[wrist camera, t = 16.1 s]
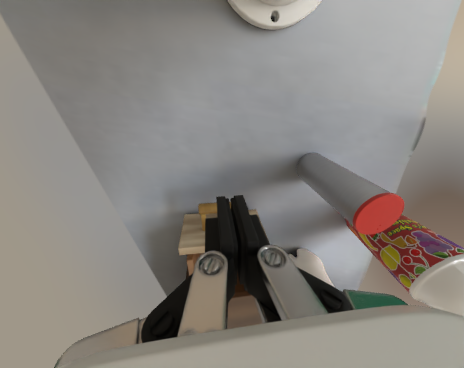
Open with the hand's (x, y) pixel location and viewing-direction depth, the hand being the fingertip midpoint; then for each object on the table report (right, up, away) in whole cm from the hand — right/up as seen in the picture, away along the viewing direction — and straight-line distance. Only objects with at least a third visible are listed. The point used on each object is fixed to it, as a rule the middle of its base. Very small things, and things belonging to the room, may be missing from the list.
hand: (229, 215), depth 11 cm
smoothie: (+24, -3, +22) cm, 32 cm away
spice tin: (+12, +5, +16) cm, 20 cm away
